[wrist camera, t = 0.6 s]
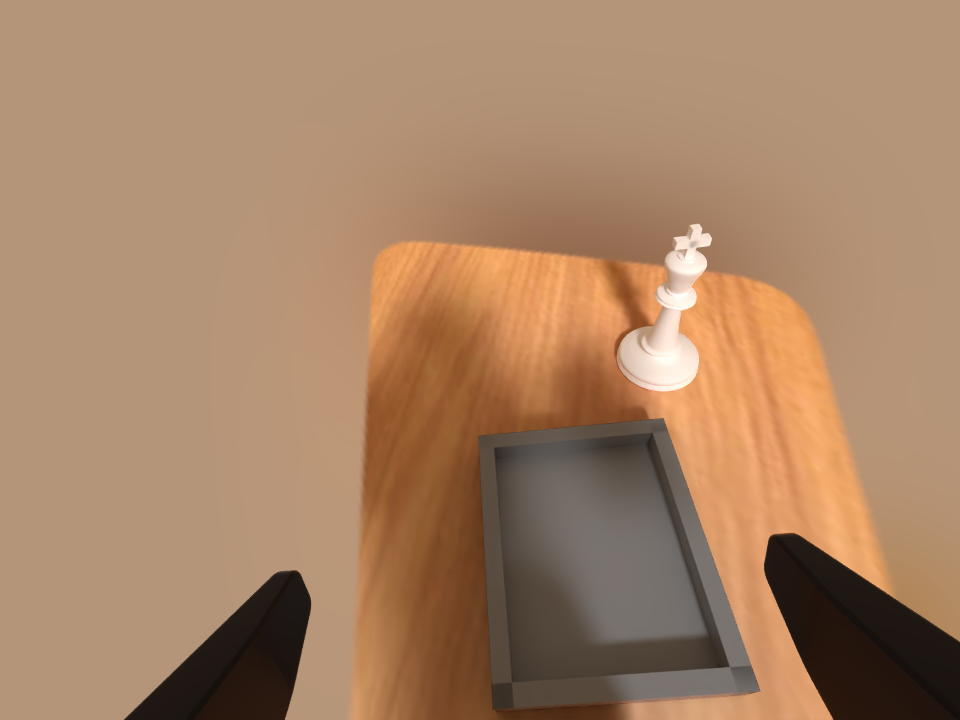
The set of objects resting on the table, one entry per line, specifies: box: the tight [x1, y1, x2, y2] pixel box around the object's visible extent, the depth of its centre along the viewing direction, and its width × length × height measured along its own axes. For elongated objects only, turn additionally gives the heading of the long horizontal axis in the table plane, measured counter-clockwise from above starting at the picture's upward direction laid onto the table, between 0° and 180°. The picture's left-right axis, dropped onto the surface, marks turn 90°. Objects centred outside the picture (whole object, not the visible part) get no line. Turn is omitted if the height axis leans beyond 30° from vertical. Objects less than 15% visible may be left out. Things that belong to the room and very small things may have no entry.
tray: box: [478, 418, 760, 712], centre depth 22 cm, size 12×10×2 cm
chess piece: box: [617, 224, 712, 391], centre depth 26 cm, size 5×5×10 cm
